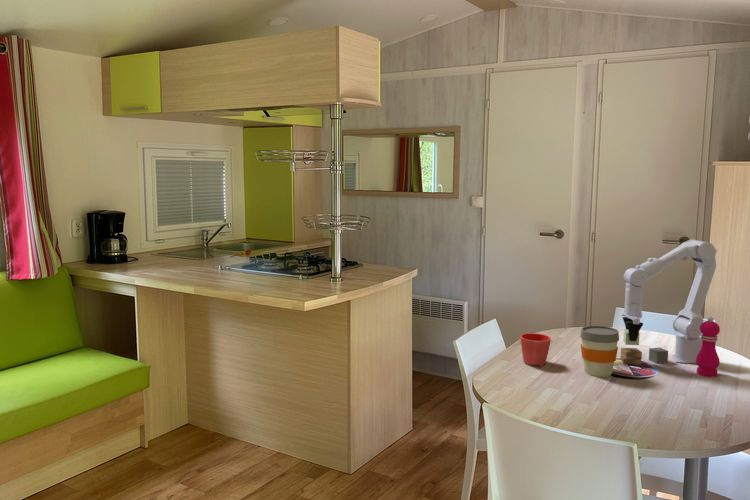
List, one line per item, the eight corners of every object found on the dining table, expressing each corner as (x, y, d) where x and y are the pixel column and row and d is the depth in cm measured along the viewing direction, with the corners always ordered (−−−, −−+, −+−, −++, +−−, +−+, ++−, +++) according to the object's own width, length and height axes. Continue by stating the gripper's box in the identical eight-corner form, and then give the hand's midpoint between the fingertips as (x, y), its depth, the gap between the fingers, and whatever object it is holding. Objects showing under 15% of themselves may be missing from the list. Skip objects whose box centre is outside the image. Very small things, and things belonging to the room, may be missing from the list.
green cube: (636, 341, 231) (637, 329, 231) (638, 345, 227) (639, 333, 227) (623, 341, 232) (623, 329, 232) (625, 344, 228) (626, 332, 227)
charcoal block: (659, 359, 234) (660, 347, 234) (667, 363, 230) (668, 350, 229) (648, 360, 233) (649, 348, 233) (656, 363, 229) (657, 351, 228)
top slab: (635, 354, 233) (636, 347, 233) (641, 359, 228) (641, 352, 227) (620, 354, 233) (620, 347, 233) (626, 359, 228) (626, 352, 227)
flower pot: (547, 358, 236) (547, 333, 234) (552, 368, 225) (553, 341, 224) (517, 357, 237) (518, 332, 235) (521, 367, 226) (522, 340, 225)
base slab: (637, 361, 233) (638, 354, 233) (640, 366, 227) (641, 359, 227) (620, 360, 234) (620, 353, 234) (623, 365, 228) (623, 358, 228)
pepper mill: (721, 378, 213) (725, 319, 210) (698, 376, 215) (702, 319, 212) (714, 371, 220) (718, 314, 217) (692, 370, 222) (695, 314, 219)
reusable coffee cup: (575, 375, 217) (577, 332, 215) (582, 364, 228) (584, 323, 226) (614, 380, 211) (616, 336, 209) (619, 369, 222) (621, 328, 220)
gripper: (618, 297, 236) (616, 333, 237) (625, 305, 221) (623, 343, 223) (638, 298, 234) (636, 334, 236) (646, 306, 220) (644, 344, 222)
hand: (631, 338), depth 230 cm, fingers closed on green cube, 4 cm apart
